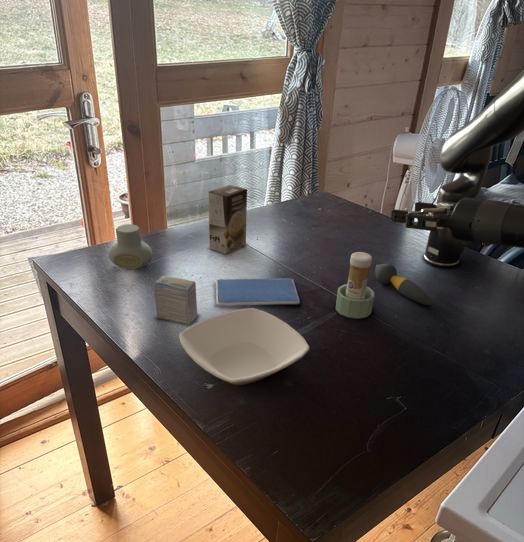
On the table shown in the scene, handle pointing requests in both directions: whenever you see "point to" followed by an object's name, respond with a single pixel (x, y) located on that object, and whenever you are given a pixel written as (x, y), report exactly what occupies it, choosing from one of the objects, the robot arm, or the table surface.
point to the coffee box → (227, 218)
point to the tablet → (256, 292)
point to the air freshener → (130, 248)
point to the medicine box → (175, 299)
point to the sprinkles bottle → (358, 275)
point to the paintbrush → (401, 284)
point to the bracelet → (354, 304)
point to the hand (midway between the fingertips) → (404, 211)
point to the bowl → (243, 345)
